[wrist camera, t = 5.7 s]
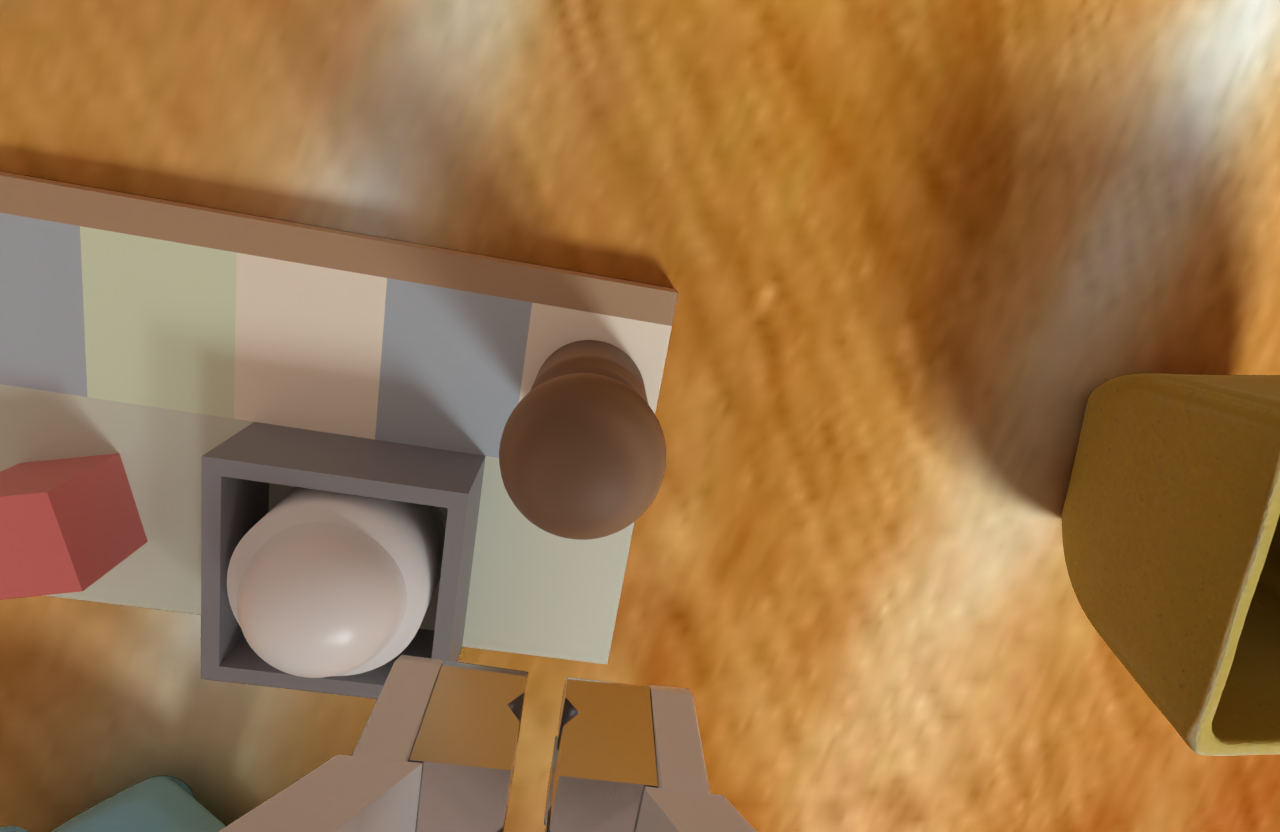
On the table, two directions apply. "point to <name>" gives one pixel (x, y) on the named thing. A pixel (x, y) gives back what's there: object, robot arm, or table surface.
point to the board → (304, 403)
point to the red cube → (64, 524)
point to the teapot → (144, 811)
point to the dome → (335, 581)
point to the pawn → (583, 444)
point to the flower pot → (1185, 548)
